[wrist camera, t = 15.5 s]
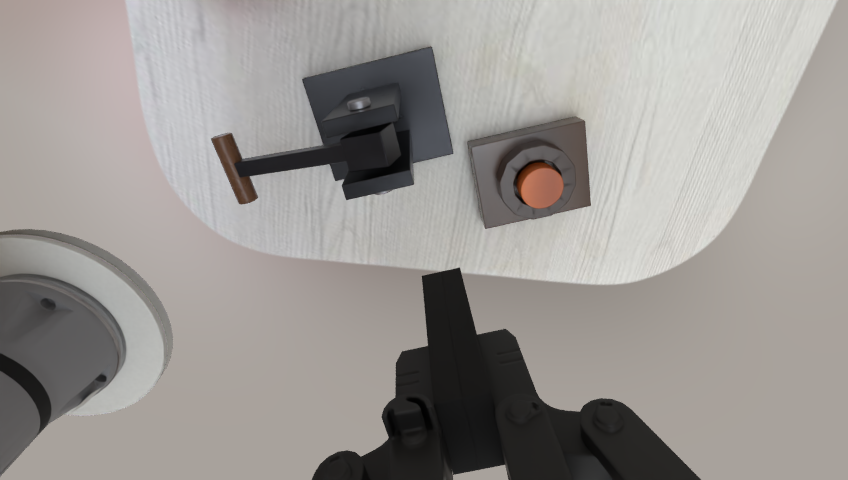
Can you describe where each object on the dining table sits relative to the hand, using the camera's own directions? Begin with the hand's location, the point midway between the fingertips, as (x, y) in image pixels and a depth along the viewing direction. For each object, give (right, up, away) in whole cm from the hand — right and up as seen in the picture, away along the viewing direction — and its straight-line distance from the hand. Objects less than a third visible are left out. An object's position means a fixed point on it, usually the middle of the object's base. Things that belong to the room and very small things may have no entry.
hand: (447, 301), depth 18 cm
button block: (+9, +9, +24) cm, 27 cm away
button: (+9, +7, +21) cm, 24 cm away
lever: (-9, +9, +14) cm, 18 cm away
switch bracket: (-5, +13, +22) cm, 26 cm away
